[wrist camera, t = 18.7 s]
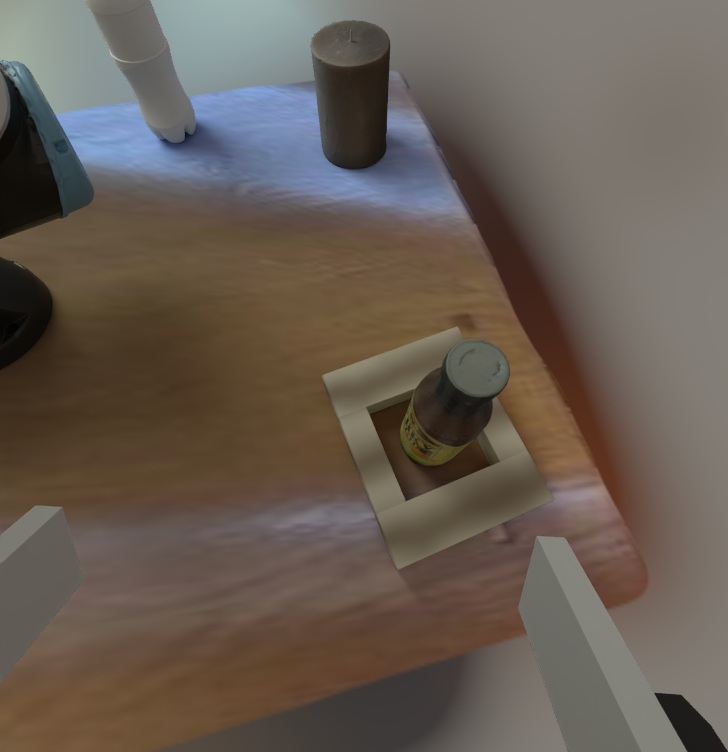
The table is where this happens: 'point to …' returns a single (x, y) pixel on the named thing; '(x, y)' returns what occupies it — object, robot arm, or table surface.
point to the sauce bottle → (453, 402)
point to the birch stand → (449, 502)
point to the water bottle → (145, 64)
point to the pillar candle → (352, 91)
